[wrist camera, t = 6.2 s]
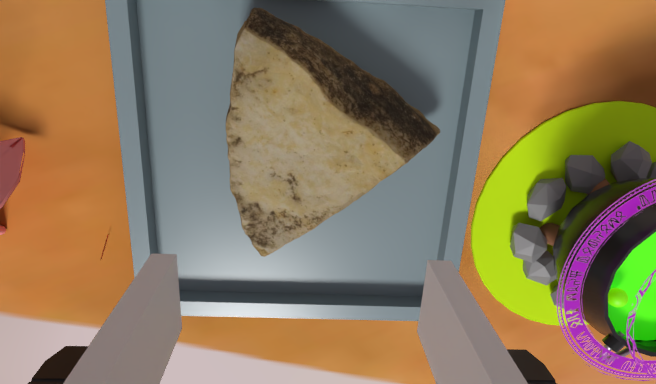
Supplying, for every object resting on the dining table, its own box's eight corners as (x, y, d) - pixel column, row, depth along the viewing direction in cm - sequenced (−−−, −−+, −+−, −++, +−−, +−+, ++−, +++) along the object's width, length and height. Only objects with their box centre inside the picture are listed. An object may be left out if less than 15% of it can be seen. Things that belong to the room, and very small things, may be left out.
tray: (147, 300, 28) (138, 314, 27) (114, -34, 22) (100, -38, 20) (443, 307, 29) (450, 321, 28) (495, -10, 23) (507, -13, 21)
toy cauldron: (587, 358, 31) (724, 519, 21) (420, 253, 28) (484, 384, 18) (762, 190, 27) (1036, 286, 17) (591, 45, 24) (803, 57, 14)
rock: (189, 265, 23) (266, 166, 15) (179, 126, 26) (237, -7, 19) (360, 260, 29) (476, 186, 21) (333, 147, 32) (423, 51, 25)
